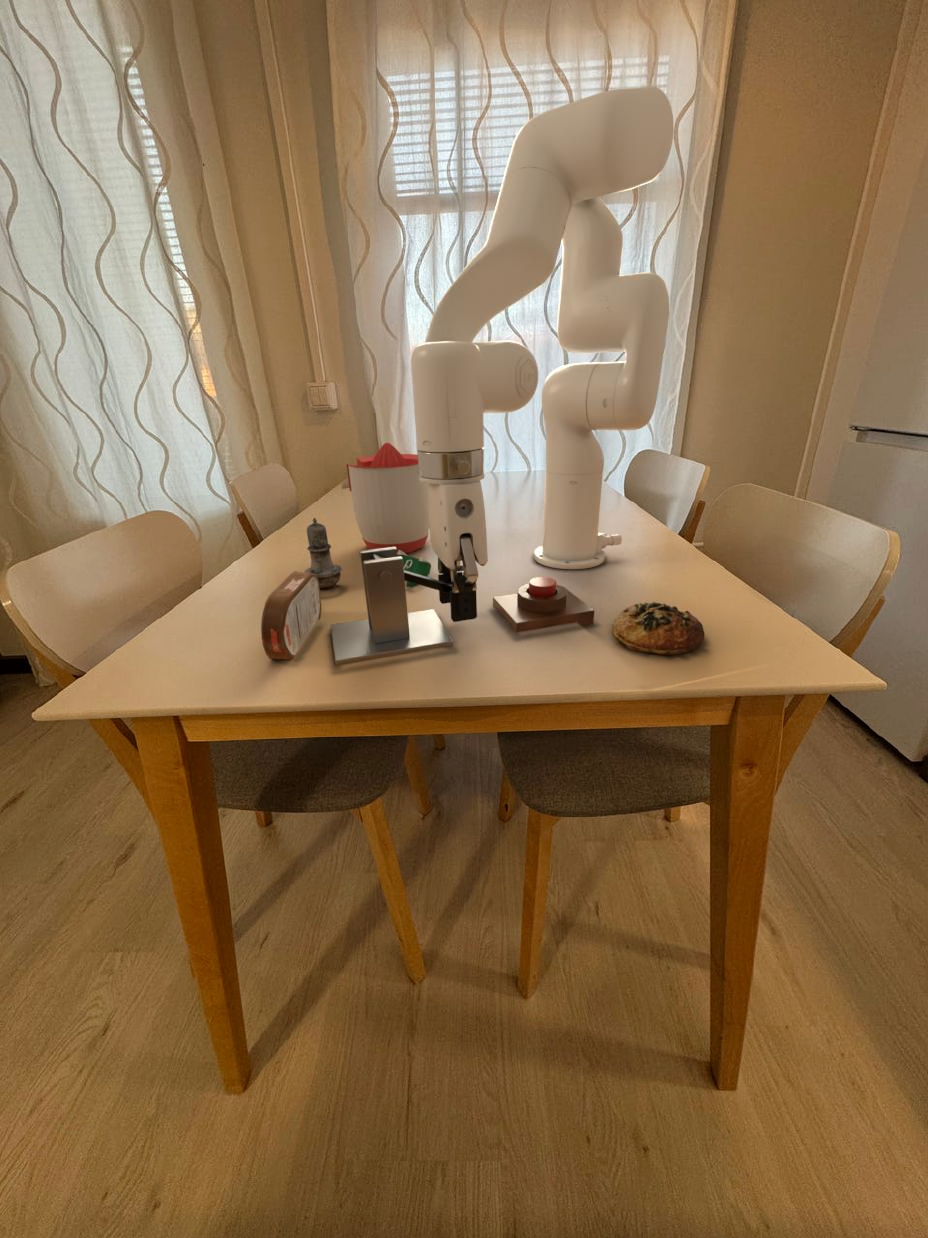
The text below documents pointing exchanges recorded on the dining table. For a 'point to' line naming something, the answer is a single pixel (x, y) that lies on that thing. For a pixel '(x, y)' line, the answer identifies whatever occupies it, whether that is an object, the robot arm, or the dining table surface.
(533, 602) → the button block
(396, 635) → the bracket
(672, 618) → the bread roll
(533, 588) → the button
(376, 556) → the lever
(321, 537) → the salt shaker
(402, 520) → the citrus juicer
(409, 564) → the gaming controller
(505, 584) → the dining table surface
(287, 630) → the tin
